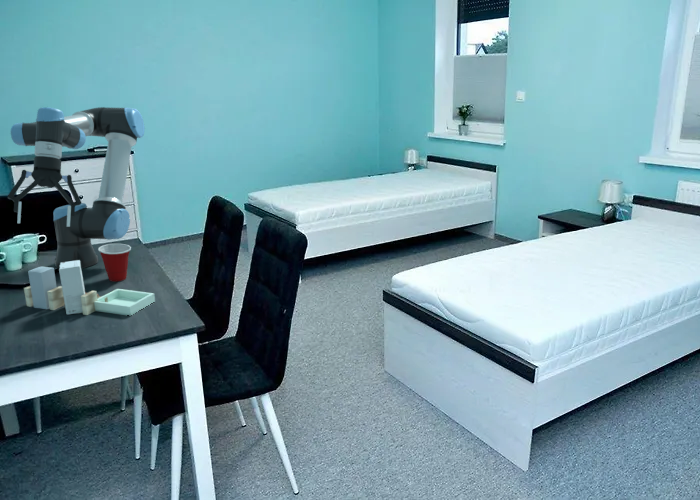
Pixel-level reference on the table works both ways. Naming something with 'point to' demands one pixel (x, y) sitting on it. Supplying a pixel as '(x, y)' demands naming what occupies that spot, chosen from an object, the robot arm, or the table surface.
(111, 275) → the plastic cup
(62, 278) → the skincare box
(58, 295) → the beige elongated piece
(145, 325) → the table surface
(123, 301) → the tray
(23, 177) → the robot arm
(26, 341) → the table surface
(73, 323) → the table surface
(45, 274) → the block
